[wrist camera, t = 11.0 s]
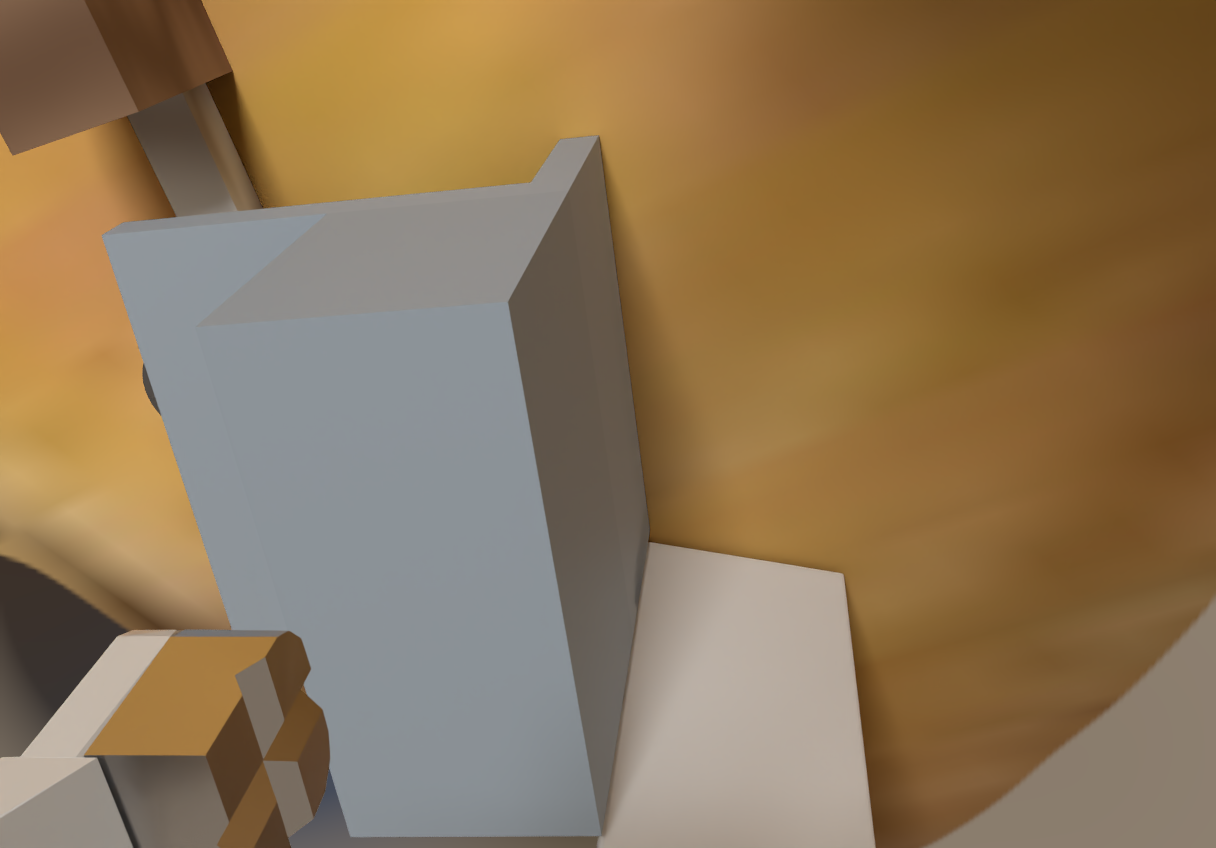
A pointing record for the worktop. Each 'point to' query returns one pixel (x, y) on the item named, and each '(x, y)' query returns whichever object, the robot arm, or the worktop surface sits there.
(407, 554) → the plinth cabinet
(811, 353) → the worktop surface
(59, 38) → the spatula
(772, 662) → the milk carton
